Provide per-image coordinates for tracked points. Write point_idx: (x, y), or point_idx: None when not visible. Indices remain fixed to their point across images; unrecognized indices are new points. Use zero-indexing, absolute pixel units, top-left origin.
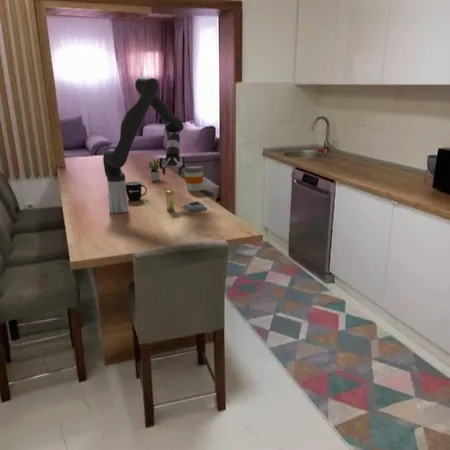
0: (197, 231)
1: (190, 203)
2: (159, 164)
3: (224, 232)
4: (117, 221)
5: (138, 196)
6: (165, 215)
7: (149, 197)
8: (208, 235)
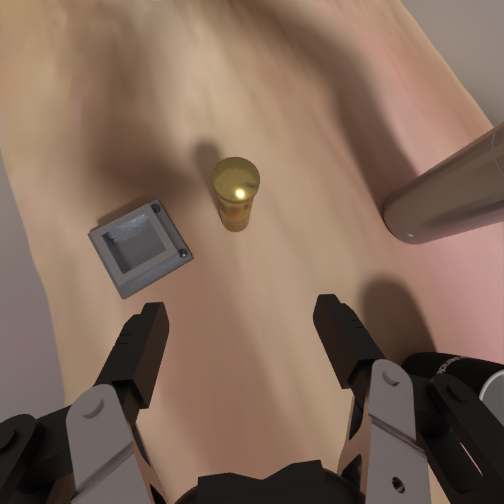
0: (130, 36)
1: (154, 257)
2: (496, 421)
3: (52, 22)
4: (371, 123)
5: (414, 366)
6: None
7: None
8: (100, 9)
